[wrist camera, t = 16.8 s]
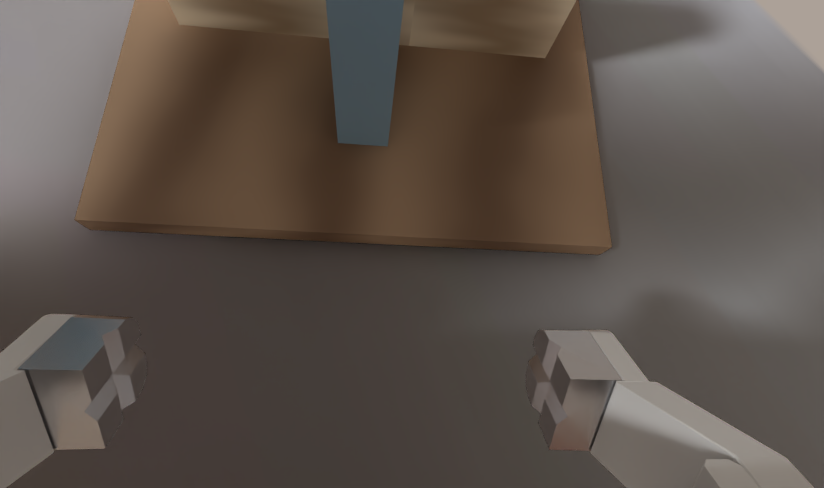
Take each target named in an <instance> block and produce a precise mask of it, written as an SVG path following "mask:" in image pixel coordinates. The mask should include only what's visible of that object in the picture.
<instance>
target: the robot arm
mask: <svg viewBox="0 0 824 488" xmlns="http://www.w3.org/2000/svg"><path fill="white" fill-rule="evenodd" d="M140 336H141V332H140V328H139V324H138V321H137V320H135V319H134V318H132V317H118V316H97V315H75V314H49V315H45V316H42V317H41V318H40V319H39V320H38V321H37V322H35V323H34V324H33V325H32V326H31V327H30V328H29V329H27V330H26V331H25V332H24V333H23V334H22V335H20V336H19V337H18V338H17V339H16V340H15V341H14V342H12V343H11V344H10V345H9V346H8V347H7V348H6V349H4V350H3V351H2V352H1V353H0V488H6V487H8V486H9V485H10V484H12V483H13V482H14V481H16V480H17V479H19V478H20V477H21V476H23V475H24V474H25V473H27V472H28V471H29V470H31V469H32V468H34V467H35V466H36V465H38V464H39V463H40V462H42V461H43V460H44V459H46V458H47V457H49V456H50V455H51V454H53V453H54V450H68V449H105V448H106V447H107V445H108V444H109V442H110V441H111V439H112V437H113V436H114V434H115V433H116V431H117V430H118V428H119V427H120V425H121V423H122V422H123V420H124V417H123V413H122V409H124V408H125V407H127V406H129V405H130V404H132V403H133V402H135V401H136V400H137V398H138V396H139V395H140V393H141V391H142V390H143V387H144V383H145V380H146V376H147V360H146V355H145V353H144V352H143V351H142V350H141V349H140V348H139V347H138V346H137V345H136V344H135V343H136V342H137V340H138V339H139V337H140ZM533 347H534V349H535V351H536V355H535V356H534V357H533V358H532V359H531V360H530V361H528V366H527V371H526V390H527V394H528V398H529V401H530V403H531V406H532V407H533V408H535V409H536V410H537V411H538V412H540V413H541V414H540V418H539V422H538V424H539V426H540V428H541V431H542V433H543V436H544V438H545V441H546V443H547V446H548V448H549V450H577V451H591V452H590V453H591V454H592V455H593V456H594V457H595V458H596V459H597V460H598V461H599V462H600V463H601V464H602V465H603V466H604V467H605V468H606V469H607V470H608V471H609V472H611V473H612V474H613V475H614V476H615V477H616V478H617V479H618V480H619V481H620V482H621V483H622V484H623V485H624V486H625V487H626V488H814V487H813V486H812V485H811V484H810V482H809V481H808V480H807V479H806V478H805V477H804V476H803V475H802V474H801V473H800V472H799V471H798V470H797V469H796V467H795V466H794V465H793V464H792V463H791V462H790V461H789V460H788V459H787V458H786V457H784V456H783V455H781V454H779V453H777V452H776V451H774V450H772V449H771V448H769V447H767V446H765V445H764V444H762V443H760V442H759V441H757V440H755V439H754V438H752V437H750V436H748V435H747V434H745V433H743V432H742V431H740V430H738V429H736V428H735V427H733V426H731V425H730V424H728V423H726V422H724V421H723V420H721V419H719V418H718V417H716V416H714V415H713V414H711V413H709V412H707V411H706V410H704V409H702V408H701V407H699V406H697V405H695V404H694V403H692V402H690V401H689V400H687V399H685V398H683V397H682V396H680V395H678V394H677V393H675V392H673V391H672V390H670V389H668V388H666V387H665V386H663V385H661V384H660V383H658V382H649V381H648V379H647V378H646V377H645V375H644V374H643V373H642V371H641V370H640V369H639V367H638V366H637V365H636V363H635V362H634V361H633V360H632V358H631V357H630V356H629V354H628V353H627V352H626V350H625V349H624V348H623V346H622V345H621V344H620V342H619V341H618V340H617V338H616V337H615V336H614V334H613V333H612V332H610V331H608V330H538V331H537V333H536V335H535V338H534V341H533Z"/></svg>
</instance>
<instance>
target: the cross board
mask: <svg viewBox="0 0 824 488" xmlns="http://www.w3.org/2000/svg"><path fill="white" fill-rule="evenodd" d="M74 220H75V221H77V222H79V223H80V224H82V225H83V226H85V227H86V228H88V229H90V230H105V231H125V232H146V233H166V234H187V235H207V236H227V237H248V238H268V239H289V240H309V241H330V242H350V243H370V244H391V245H411V246H432V247H452V248H473V249H493V250H514V251H534V252H554V253H575V254H595V255H600V254H601V253H603V252H605V251H606V250H608V249H610V248H611V247H612V244H611V236H610V229H609V221H608V214H607V207H606V199H605V192H604V184H603V177H602V170H601V162H600V155H599V147H598V140H597V133H596V125H595V118H594V110H593V103H592V95H591V88H590V81H589V73H588V66H587V58H586V51H585V44H584V36H583V29H582V21H581V14H580V7H579V0H404V5H403V14H402V23H401V32H400V41H399V50H398V59H397V68H396V77H395V86H394V95H393V104H392V113H391V122H390V131H389V140H388V146H374V145H359V144H345V143H338V138H337V126H336V115H335V103H334V91H333V79H332V68H331V56H330V44H329V33H328V21H327V9H326V0H135V2H134V5H133V9H132V13H131V16H130V20H129V23H128V27H127V31H126V34H125V38H124V42H123V45H122V49H121V52H120V56H119V60H118V63H117V67H116V71H115V74H114V78H113V81H112V85H111V89H110V92H109V96H108V100H107V103H106V107H105V111H104V114H103V118H102V121H101V125H100V129H99V132H98V136H97V140H96V143H95V147H94V150H93V154H92V158H91V161H90V165H89V169H88V172H87V176H86V179H85V183H84V187H83V190H82V194H81V198H80V201H79V205H78V208H77V212H76V216H75V219H74Z"/></svg>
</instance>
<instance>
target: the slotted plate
mask: <svg viewBox="0 0 824 488" xmlns="http://www.w3.org/2000/svg"><path fill="white" fill-rule="evenodd" d="M403 5H404V0H326V9H327V21H328V33H329V44H330V56H331V68H332V79H333V91H334V103H335V115H336V126H337V138H338V143H345V144H359V145H374V146H388V140H389V131H390V122H391V113H392V104H393V95H394V86H395V77H396V68H397V59H398V50H399V41H400V32H401V23H402V14H403Z"/></svg>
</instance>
